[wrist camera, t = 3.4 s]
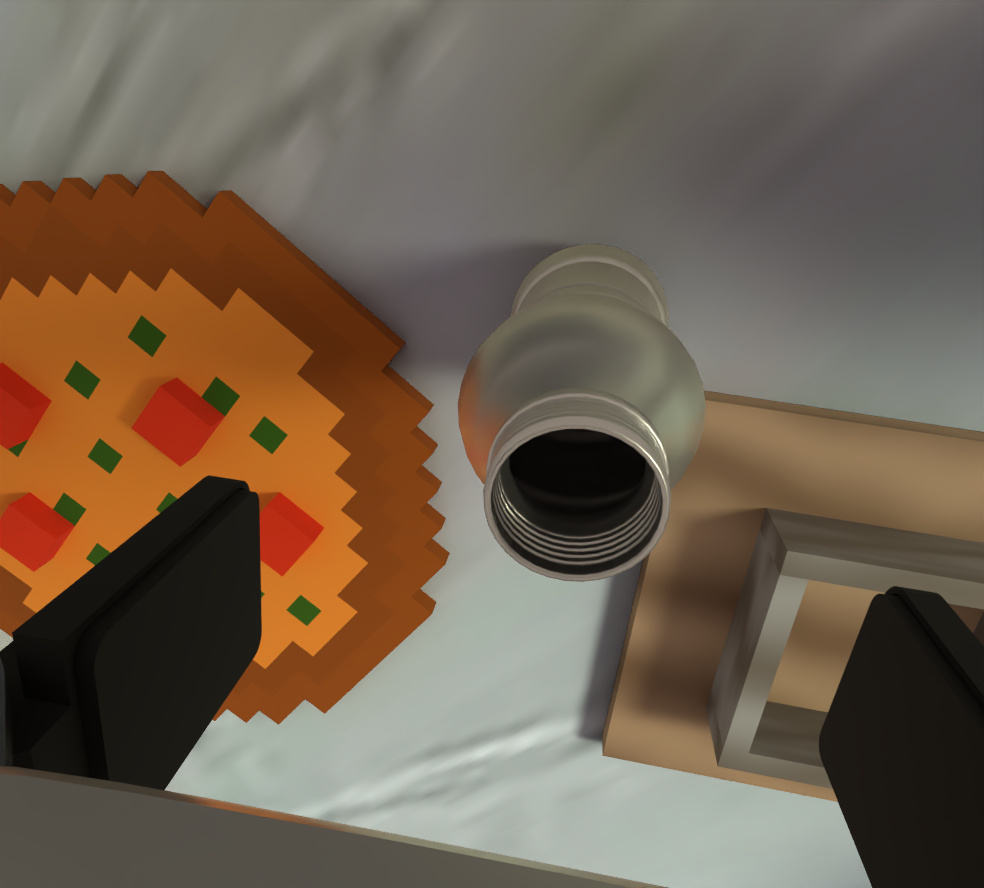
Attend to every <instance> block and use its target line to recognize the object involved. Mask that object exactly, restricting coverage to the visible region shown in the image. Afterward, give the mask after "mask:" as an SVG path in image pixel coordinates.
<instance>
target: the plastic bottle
mask: <svg viewBox="0 0 984 888" xmlns="http://www.w3.org/2000/svg"><path fill="white" fill-rule="evenodd" d="M668 319H669V311H668V305H667V298H666V296H665V293H664V291H663V288H662V285H661V283H660V282H659V280H658V279H657V277H656V276H655V274H654V273H653V271H652V270H651V269H650V268H648V267H647V266H646V265H645V264H644V263H643V262H642V261H641V260H640V259H638V258H636V257H635V256H633V255H632V254H630V253H629V252H626V251H623V250H621V249H618V248H616V247H612V246H606V245H600V244H583V245H578V246H573V247H569V248H565V249H563V250H560V251H558V252H556V253H554V254H551V255H550V256H548V257H547V258H545V259H544V260H543V261H541V262H540V263H538V264H537V265H536V266H535V267H534V268H533V269H532V270H531V271H530V272H529V273H528V274H527V276H526V277H525V279H524V280H523V282H522V283H521V285H520V286H519V289H518V291H517V294H516V296H515V298H514V301H513V306H512V312H511V317H510V318H509V319H507V320H506V321H504V322H503V323H502V324H501V325H500V326H499V327H498V328H497V329H496V330H495V331H494V332H493V333H492V334H491V335H490V336H489V337H488V338H487V339H486V340H485V341H484V342H483V343H482V344H481V346H480V347H479V349H478V350H477V352H476V353H475V355H474V356H473V358H472V359H471V361H470V362H469V365H468V368H467V370H466V373H465V375H464V378H463V380H462V383H461V389H460V395H459V401H458V415H459V427H460V431H461V435H462V439H463V442H464V446H465V450H466V453H467V457H468V459H469V461H470V463H471V465H472V467H473V469H474V471H475V473H476V474H477V476H478V477H479V478H480V480H481V481H482V482H483V483H484V490H483V492H484V510H485V514H486V518H487V522H488V525H489V527H490V529H491V531H492V533H493V535H494V537H495V539H496V541H497V542H498V543H499V544H500V546H501V547H502V548H503V549H504V551H505V552H506V553H507V554H509V555H510V556H511V557H512V558H513V559H514V560H516V561H517V562H518V563H519V564H521V565H523V566H525V567H526V568H528V569H530V570H531V571H533V572H536V573H539V574H541V575H544V576H546V577H549V578H554V579H559V580H564V581H581V582H583V581H592V580H600V579H604V578H607V577H611V576H614V575H617V574H619V573H621V572H623V571H625V570H628V569H630V568H632V567H633V566H634V565H636V564H637V563H638V562H640V561H641V560H643V559H644V558H645V557H646V556H647V555H648V554H649V553H650V552H651V551H652V550H653V548H654V547H655V546H656V545H657V543H658V542H659V540H660V538H661V537H662V535H663V533H664V531H665V528H666V525H667V522H668V519H669V513H670V505H671V490H672V489H673V488H674V487H675V485H676V484H677V483H678V482H679V481H680V480H681V478H682V477H683V475H684V473H685V471H686V470H687V468H688V466H689V464H690V463H691V461H692V459H693V457H694V455H695V453H696V451H697V449H698V446H699V442H700V439H701V436H702V433H703V430H704V422H705V411H706V404H705V396H704V389H703V383H702V380H701V378H700V375H699V372H698V370H697V367H696V365H695V362H694V360H693V359H692V357H691V356H690V354H689V353H688V351H687V350H686V348H685V347H684V345H683V344H682V342H681V341H680V340H679V339H678V337H677V336H676V335H675V334H674V333H673V332H672V331H671V330H670V329H669V328H668Z"/></svg>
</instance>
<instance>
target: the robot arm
mask: <svg viewBox="0 0 984 888" xmlns="http://www.w3.org/2000/svg"><path fill="white" fill-rule="evenodd" d="M12 636H13V641H12V642H11V643H10V644H9V645H8V646H6V647H5V648H4V649H3V650H1V651H0V888H667V887H662V886H657V885H652V884H647V883H642V882H637V881H632V880H627V879H622V878H617V877H612V876H607V875H602V874H597V873H592V872H586V871H581V870H576V869H571V868H566V867H561V866H556V865H551V864H546V863H541V862H536V861H531V860H526V859H521V858H515V857H510V856H505V855H500V854H495V853H490V852H485V851H480V850H475V849H470V848H464V847H459V846H454V845H449V844H444V843H439V842H434V841H429V840H424V839H419V838H413V837H408V836H403V835H398V834H392V833H387V832H382V831H377V830H371V829H366V828H361V827H356V826H350V825H345V824H340V823H335V822H329V821H324V820H319V819H314V818H309V817H303V816H298V815H293V814H288V813H282V812H277V811H272V810H267V809H261V808H256V807H251V806H246V805H240V804H235V803H230V802H225V801H219V800H214V799H209V798H203V797H198V796H192V795H187V794H181V793H176V792H170V791H165V788H166V787H167V785H168V784H169V783H170V781H171V780H172V778H173V777H174V775H175V774H176V772H177V771H178V769H179V768H180V766H181V765H182V763H183V762H184V760H185V759H186V757H187V756H188V755H189V753H190V752H191V750H192V749H193V747H194V746H195V744H196V743H197V741H198V740H199V738H200V737H201V735H202V734H203V732H204V731H205V729H206V728H207V726H208V725H209V724H210V722H211V721H212V719H213V718H214V716H215V715H216V713H217V712H218V710H219V709H220V707H221V706H222V704H223V703H224V701H225V700H226V698H227V697H228V696H229V694H230V693H231V691H232V690H233V688H234V687H235V685H236V684H237V682H238V681H239V679H240V678H241V676H242V675H243V673H244V672H245V670H246V669H247V667H248V666H249V665H250V663H251V662H252V660H253V659H254V657H255V655H256V653H257V651H258V649H259V645H260V642H261V636H262V614H261V559H260V505H259V497H258V494H257V493H256V492H253V491H250V489H249V486H248V484H247V483H246V482H245V481H242V480H236V479H229V478H223V477H217V476H210V475H208V476H206V477H204V478H203V479H202V480H200V481H199V482H198V483H197V484H195V485H194V486H193V487H192V488H190V489H189V490H188V491H187V492H186V493H184V494H183V495H182V496H181V497H179V498H178V499H177V500H176V501H174V502H173V503H172V504H171V505H169V506H168V507H167V508H166V509H164V510H163V511H162V512H161V513H160V514H158V515H157V516H156V517H155V518H153V519H152V520H151V521H150V522H148V523H147V524H146V525H145V526H143V527H142V528H141V529H140V530H138V531H137V532H136V533H135V534H134V535H132V536H131V537H130V538H129V539H127V540H126V541H125V542H124V543H122V544H121V545H120V546H119V547H117V548H116V549H115V550H114V551H112V552H111V553H110V554H109V555H108V556H106V557H105V558H104V559H103V560H101V561H100V562H99V563H98V564H96V565H95V566H94V567H93V568H91V569H90V570H89V571H88V572H86V573H85V574H84V575H83V576H82V577H80V578H79V579H78V580H77V581H75V582H74V583H73V584H72V585H70V586H69V587H68V588H67V589H65V590H64V591H63V592H62V593H60V594H59V595H58V596H57V597H55V598H54V599H53V600H52V601H51V602H49V603H48V604H47V605H46V606H44V607H43V608H42V609H41V610H39V611H38V612H37V613H36V614H34V615H33V616H32V617H31V618H29V619H28V620H27V621H26V622H25V623H23V624H22V625H21V626H20V627H18V628H17V629H16V630H15V631H13V632H12ZM819 753H820V757H821V761H822V763H823V766H824V768H825V771H826V773H827V776H828V778H829V781H830V783H831V786H832V788H833V791H834V793H835V796H836V798H837V801H838V803H839V805H840V808H841V810H842V813H843V815H844V818H845V820H846V823H847V825H848V828H849V830H850V833H851V835H852V838H853V840H854V843H855V845H856V848H857V850H858V853H859V855H860V858H861V860H862V863H863V865H864V868H865V870H866V873H867V875H868V878H869V880H870V883H871V885H872V888H984V646H983V645H982V643H981V642H980V641H979V640H978V639H977V638H976V636H975V635H974V634H973V633H972V632H971V630H970V629H969V628H968V627H967V626H966V624H965V623H964V622H963V621H962V620H961V618H960V617H959V616H958V615H957V614H956V612H955V611H954V610H953V609H952V608H951V607H950V605H949V604H948V603H947V602H946V601H945V599H944V598H943V597H942V596H941V595H939V594H938V593H935V592H929V591H923V590H917V589H911V588H905V587H898V586H893V587H891V588H889V589H888V590H887V591H886V592H885V594H880V593H879V594H877V595H875V596H874V598H873V599H872V601H871V603H870V606H869V608H868V611H867V613H866V616H865V618H864V621H863V624H862V626H861V629H860V631H859V634H858V636H857V639H856V642H855V644H854V647H853V649H852V652H851V654H850V657H849V660H848V662H847V665H846V667H845V670H844V673H843V675H842V678H841V680H840V683H839V685H838V688H837V691H836V693H835V696H834V698H833V701H832V703H831V706H830V709H829V711H828V714H827V716H826V719H825V721H824V724H823V727H822V729H821V732H820V736H819Z"/></svg>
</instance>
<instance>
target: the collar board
mask: <svg viewBox="0 0 984 888" xmlns="http://www.w3.org/2000/svg"><path fill="white" fill-rule="evenodd" d="M704 396H705V404H706V411H705V422H704V430H703V433H702V436H701V439H700V442H699V446H698V449H697V451H696V453H695V455H694V457H693V459H692V461H691V463H690V464H689V466H688V468H687V470H686V471H685V473H684V475H683V477H682V478H681V480H680V481H679V482H678V483H677V484H676V485H675V487H674V488H673V489H672V490H671V505H670V513H669V519H668V522H667V525H666V528H665V531H664V533H663V535H662V537H661V538H660V540H659V542H658V543H657V545H656V546H655V547H654V548H653V550H652V551H651V552H650V553H649V554H648V555H647V556H646V557H645V558H644V559H643V563H642V567H641V571H640V576H639V580H638V584H637V589H636V593H635V597H634V601H633V606H632V610H631V614H630V619H629V623H628V627H627V632H626V636H625V640H624V645H623V649H622V653H621V658H620V662H619V666H618V671H617V675H616V679H615V684H614V688H613V692H612V697H611V701H610V705H609V710H608V714H607V718H606V722H605V727H604V731H603V735H602V744H603V756H608V757H613V758H618V759H623V760H628V761H633V762H638V763H643V764H648V765H653V766H658V767H663V768H669V769H674V770H679V771H684V772H689V773H694V774H699V775H704V776H709V777H714V778H719V779H724V780H730V781H735V782H740V783H745V784H750V785H755V786H760V787H765V788H770V789H775V790H780V791H785V792H791V793H796V794H801V795H806V796H811V797H816V798H821V799H826V800H831V801H836V802H838V801H837V798H836V796H835V793H834V791H833V788H832V786H831V783H830V781H829V778H828V776H827V773H826V771H825V768H824V766H823V763H822V761H821V757H820V753H819V736H820V732H821V729H822V727H823V724H824V721H825V719H826V716H827V714H828V711H829V709H830V706H831V703H832V701H833V698H834V696H835V693H836V691H837V688H838V685H839V683H840V680H841V678H842V675H843V673H844V670H845V667H846V665H847V662H848V660H849V657H850V654H851V652H852V649H853V647H854V644H855V642H856V639H857V636H858V634H859V631H860V629H861V626H862V624H863V621H864V618H865V616H866V613H867V611H868V608H869V606H870V603H871V601H872V599H873V598H874V596H875V595H877V594H879V593H880V594H885V592H886V591H887V590H888V589H889V588H891V587H893V586H898V587H905V588H911V589H917V590H923V591H929V592H935V593H938V594H939V595H941V596H942V597H943V598H944V599H945V601H946V602H947V603H948V604H949V605H950V607H951V608H952V609H953V610H954V611H955V612H956V614H957V615H958V616H959V617H960V618H961V620H962V621H963V622H964V623H965V624H966V626H967V627H968V628H969V629H970V630H971V632H972V633H973V634H974V635H975V636H976V638H977V639H978V640H979V641H980V642H981V643H982V645H983V646H984V432H979V431H972V430H965V429H958V428H952V427H945V426H938V425H931V424H925V423H918V422H911V421H905V420H898V419H891V418H884V417H878V416H871V415H864V414H857V413H851V412H844V411H837V410H830V409H824V408H817V407H810V406H804V405H797V404H790V403H783V402H777V401H770V400H763V399H756V398H750V397H743V396H736V395H729V394H723V393H716V392H709V391H704Z"/></svg>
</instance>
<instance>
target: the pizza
mask: <svg viewBox="0 0 984 888" xmlns="http://www.w3.org/2000/svg"><path fill="white" fill-rule="evenodd" d="M404 344H405V342H404V341H403V340H402V339H401V338H400V337H399V336H397V335H396V334H395V333H394V332H393V331H392V330H391V329H389V328H388V327H387V326H386V325H385V324H384V323H382V322H381V321H380V320H379V319H378V318H377V317H376V316H374V315H373V314H372V313H371V312H370V311H369V310H368V309H366V308H365V307H364V306H363V305H362V304H361V303H360V302H358V301H357V300H356V299H355V298H354V297H353V296H352V295H350V294H349V293H348V292H347V291H346V290H345V289H344V288H342V287H341V286H340V285H339V284H338V283H337V282H336V281H334V280H333V279H332V278H331V277H330V276H329V275H328V274H326V273H325V272H324V271H323V270H322V269H321V268H320V267H318V266H317V265H316V264H315V263H314V262H313V261H312V260H310V259H309V258H308V257H307V256H306V255H305V254H304V253H302V252H301V251H300V250H299V249H298V248H297V247H296V246H294V245H293V244H292V243H291V242H290V241H289V240H288V239H286V238H285V237H284V236H283V235H282V234H281V233H279V232H278V231H277V230H276V229H275V228H274V227H273V226H271V225H270V224H269V223H268V222H267V221H266V220H265V219H263V218H262V217H261V216H260V215H259V214H258V213H257V212H255V211H254V210H253V209H252V208H251V207H250V206H249V205H247V204H246V203H245V202H244V201H243V200H242V199H241V198H239V197H238V196H237V195H236V194H235V193H234V192H233V191H219V192H218V194H217V195H216V197H215V198H214V200H213V202H212V203H211V205H210V206H209V208H208V210H207V209H206V208H205V207H204V206H203V205H202V204H201V203H199V202H198V201H197V200H196V199H195V198H194V197H192V196H191V195H190V194H189V193H188V192H187V191H185V190H184V189H183V188H182V187H181V186H180V185H179V184H177V183H176V182H175V181H174V180H173V179H172V178H170V177H169V176H168V175H167V174H166V173H165V172H163V171H148V172H147V174H146V175H145V177H144V179H143V181H142V182H141V184H140V186H139V188H137V187H136V186H134V185H133V184H132V183H131V182H130V181H129V180H127V179H126V178H125V177H124V176H123V175H122V174H114V175H105V176H104V178H103V180H102V182H101V184H100V185H99V187H98V189H97V191H96V190H95V189H94V188H93V187H91V186H90V185H89V184H88V183H87V182H85V181H84V180H83V179H82V178H63V180H62V182H61V184H60V186H59V188H58V190H57V192H56V193H55V192H54V191H53V190H51V189H50V188H49V187H48V186H47V185H45V184H44V183H43V182H42V181H23V182H22V184H21V186H20V188H19V190H18V192H17V194H16V195H15V194H14V193H12V192H11V191H10V190H9V189H7V188H6V187H5V186H4V185H3V184H0V629H1V630H3V631H4V632H6V633H7V634H8V635H10V636H11V637H13V636H12V632H13V631H15V630H16V629H17V628H18V627H20V626H21V625H22V624H23V623H25V622H26V621H27V620H28V619H29V618H31V617H32V616H33V615H34V614H36V613H37V612H38V611H39V610H41V609H42V608H43V607H44V606H46V605H47V604H48V603H49V602H51V601H52V600H53V599H54V598H55V597H57V596H58V595H59V594H60V593H62V592H63V591H64V590H65V589H67V588H68V587H69V586H70V585H72V584H73V583H74V582H75V581H77V580H78V579H79V578H80V577H82V576H83V575H84V574H85V573H86V572H88V571H89V570H90V569H91V568H93V567H94V566H95V565H96V564H98V563H99V562H100V561H101V560H103V559H104V558H105V557H106V556H108V555H109V554H110V553H111V552H112V551H114V550H115V549H116V548H117V547H119V546H120V545H121V544H122V543H124V542H125V541H126V540H127V539H129V538H130V537H131V536H132V535H134V534H135V533H136V532H137V531H138V530H140V529H141V528H142V527H143V526H145V525H146V524H147V523H148V522H150V521H151V520H152V519H153V518H155V517H156V516H157V515H158V514H160V513H161V512H162V511H163V510H164V509H166V508H167V507H168V506H169V505H171V504H172V503H173V502H174V501H176V500H177V499H178V498H179V497H181V496H182V495H183V494H184V493H186V492H187V491H188V490H189V489H190V488H192V487H193V486H194V485H195V484H197V483H198V482H199V481H200V480H202V479H203V478H204V477H206V476H208V475H210V476H217V477H223V478H229V479H236V480H242V481H245V482H246V483H247V484H248V486H249V489H250V491H253V492H256V493H257V494H258V497H259V505H260V559H261V614H262V636H261V642H260V645H259V649H258V651H257V653H256V655H255V657H254V659H253V660H252V662H251V663H250V665H249V666H248V667H247V669H246V670H245V672H244V673H243V675H242V676H241V678H240V679H239V681H238V682H237V684H236V685H235V687H234V688H233V690H232V691H231V693H230V694H229V696H228V697H227V698H226V700H225V701H224V703H223V704H222V706H221V707H220V709H219V710H218V712H217V713H216V715H215V716H214V718H213V720H214V721H216V720H217V718H218V717H219V716H220V715H221V714H222V713H223V712H224V711H225V710H226V709H228V710H230V711H231V712H232V713H234V714H235V715H236V716H238V717H239V718H241V719H242V720H243V721H245V722H246V723H247V722H248V721H249V720H250V719H251V718H252V717H253V716H254V715H255V714H256V713H257V712H258V711H261V712H262V713H263V714H265V715H266V716H268V717H269V718H270V719H272V720H273V721H274V722H276V723H277V724H278V725H279V724H280V723H281V722H282V721H283V720H284V719H285V718H286V717H287V716H288V715H289V714H290V713H291V712H292V711H293V710H294V709H295V708H296V707H297V706H298V705H299V704H300V703H301V702H303V701H304V700H305V699H306V700H307V701H309V702H310V703H311V704H313V705H314V706H315V707H317V708H318V709H319V710H321V711H322V712H323V713H326V712H327V711H328V710H329V709H330V708H331V707H332V706H333V705H335V704H336V703H337V702H338V701H339V700H340V699H341V698H342V697H343V696H344V695H345V694H346V693H347V692H349V691H350V690H351V689H352V688H353V687H354V686H355V685H356V684H357V683H358V682H359V681H360V680H361V679H363V678H364V677H365V676H366V675H367V674H368V673H369V672H370V671H371V670H372V669H373V668H374V667H375V666H377V665H378V664H379V663H380V662H381V661H382V660H383V659H384V658H385V657H386V656H387V655H388V654H389V653H390V652H392V651H393V650H394V649H395V648H396V647H397V646H398V645H399V644H400V643H401V642H402V641H403V640H404V639H406V638H407V637H408V636H409V635H410V634H411V633H412V632H413V631H414V630H415V629H416V628H417V627H418V626H420V625H421V624H422V623H423V622H424V621H425V620H426V619H427V618H428V617H429V616H430V615H431V614H432V612H433V610H434V607H435V604H436V602H435V601H434V600H433V599H432V598H430V597H429V596H428V595H427V594H426V593H424V592H423V591H422V590H421V589H420V588H421V587H422V586H423V585H424V584H425V583H426V582H427V581H428V580H429V579H430V578H431V577H432V576H433V575H435V574H436V573H437V572H438V571H439V570H440V569H441V568H442V567H443V566H444V565H445V564H446V561H447V558H448V556H449V552H447V551H446V550H445V549H444V548H443V547H441V546H440V545H439V544H438V543H437V542H435V541H434V540H433V539H432V538H433V537H434V536H435V535H436V534H437V533H438V532H439V531H440V530H441V528H442V526H443V524H444V521H445V519H446V518H445V517H443V516H442V515H441V514H440V513H439V512H438V511H436V510H435V509H434V508H433V507H432V506H430V505H429V504H428V503H427V502H428V501H429V500H430V499H431V498H432V497H433V496H434V495H435V494H436V493H437V491H438V489H439V487H440V485H441V483H442V482H441V481H440V480H439V479H438V478H436V477H435V476H434V475H433V474H432V473H430V472H429V471H428V470H427V469H426V468H425V467H423V466H422V464H423V463H424V462H425V461H426V460H427V459H428V458H429V457H430V456H431V455H432V454H433V452H434V451H435V449H436V447H437V445H438V444H437V443H436V442H435V441H433V440H432V439H431V438H430V437H429V436H428V435H426V434H425V433H424V432H423V431H422V430H421V429H419V428H418V427H417V425H418V424H419V423H420V421H421V420H422V419H423V418H424V417H425V416H426V415H427V414H428V413H429V411H430V410H431V408H432V407H433V404H432V403H431V402H430V401H429V400H428V399H426V398H425V397H424V396H423V395H422V394H421V393H419V392H418V391H417V390H416V389H415V388H414V387H413V386H411V385H410V384H409V383H408V382H407V381H406V380H404V379H403V378H402V377H401V376H400V375H399V374H397V373H396V372H395V371H394V370H393V369H392V368H391V367H389V366H388V364H389V362H390V361H391V360H392V359H393V358H394V356H395V355H396V354H397V353H398V352H399V350H400V349H401V348H402V347H403V346H404Z"/></svg>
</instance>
